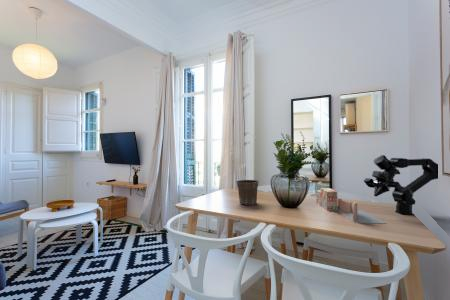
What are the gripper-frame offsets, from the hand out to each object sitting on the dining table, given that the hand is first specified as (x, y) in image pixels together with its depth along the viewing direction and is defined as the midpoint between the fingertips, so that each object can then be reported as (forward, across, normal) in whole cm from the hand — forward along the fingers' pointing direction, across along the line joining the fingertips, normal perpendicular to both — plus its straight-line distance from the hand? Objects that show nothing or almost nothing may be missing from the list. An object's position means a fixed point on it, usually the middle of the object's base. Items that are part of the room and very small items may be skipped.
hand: (375, 195), depth 122 cm
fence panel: (+17, -2, -1) cm, 17 cm away
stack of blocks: (+14, -28, +2) cm, 31 cm away
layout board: (+14, -4, +3) cm, 15 cm away
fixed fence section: (+13, -13, +3) cm, 19 cm away
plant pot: (+45, -55, -30) cm, 78 cm away
